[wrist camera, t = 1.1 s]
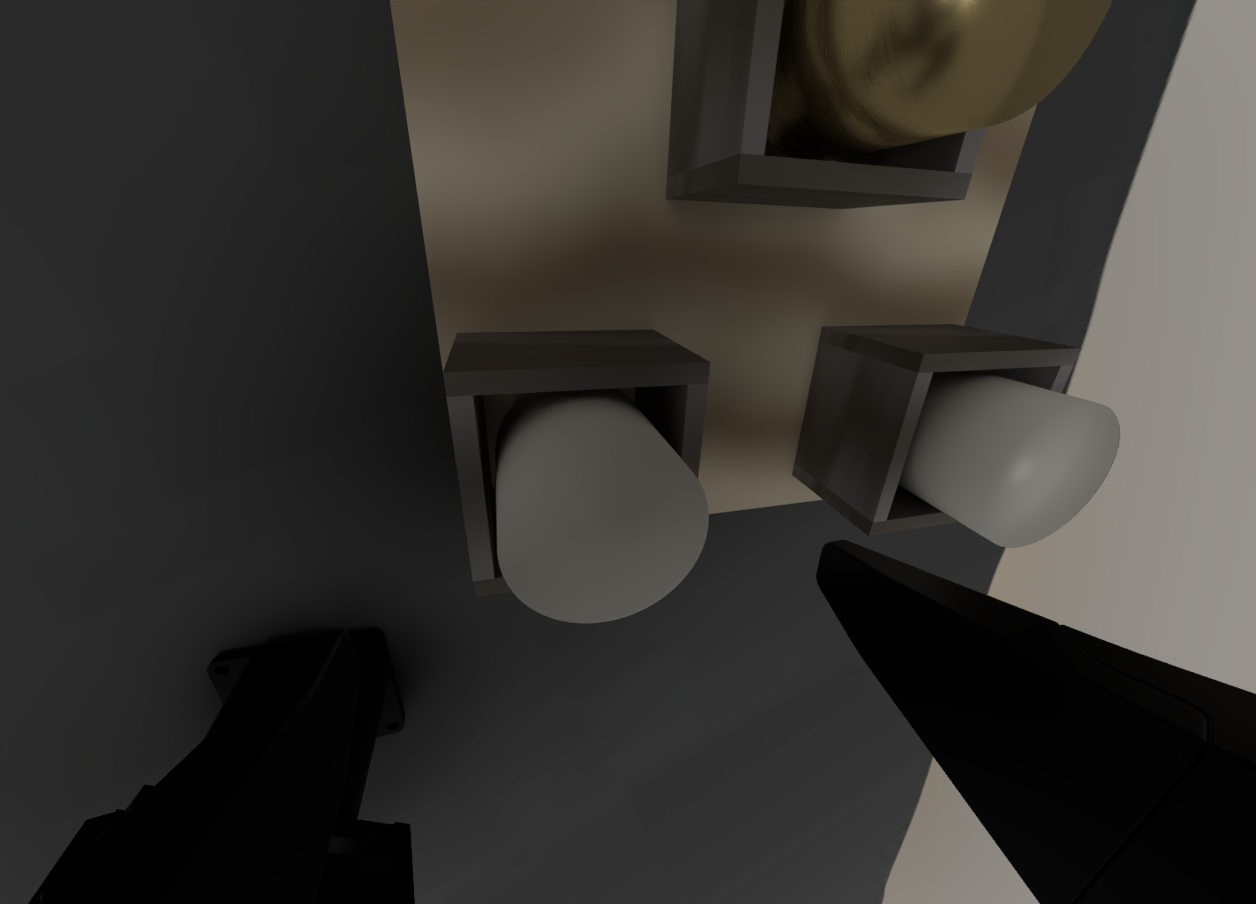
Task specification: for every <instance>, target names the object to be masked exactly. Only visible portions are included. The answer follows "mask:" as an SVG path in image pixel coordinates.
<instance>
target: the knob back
mask: <svg viewBox="0 0 1256 904" xmlns="http://www.w3.org/2000/svg"><path fill="white" fill-rule="evenodd" d="M1119 440H1120V426H1119V422H1118V419H1117V416H1116V415H1115V414H1114V412H1113V411H1112V410H1111V409H1110V408H1108V407H1106V406H1104V405H1102V404H1098V403H1095V402H1091V401H1087V400H1084V399H1080V398H1076V397H1073V396H1069V395H1066V394H1062V393H1058V392H1055V391H1051V390H1047V389H1044V388H1040V387H1037V386H1033V385H1029V384H1026V383H1022V382H1018V381H1015V380H1011V379H1007V378H1004V377H1000V376H997V375H993V374H989V373H986V372H982V371H978V370H969V371H950V372H933V375H932V378H931V381H930V384H929V388H928V391H927V394H926V397H925V400H924V403H923V407H922V410H921V413H920V416H919V419H918V422H917V426H916V429H915V432H914V435H913V438H912V441H911V445H910V448H909V451H908V454H907V457H906V460H905V464H904V467H903V470H902V473H901V476H900V479H899V483H898V485H900V486H901V487H903V488H905V489H906V490H908V491H909V492H911V493H913V494H914V495H916V496H918V497H919V498H921V499H923V500H924V501H926V502H927V503H929V504H931V505H932V506H934V507H936V508H937V509H939V510H941V511H942V512H944V513H946V514H947V515H949V516H950V517H952V518H954V519H955V520H957V521H959V522H960V523H962V524H964V525H965V526H967V527H968V528H970V529H972V530H973V531H975V532H977V533H978V534H980V535H982V536H983V537H985V538H987V539H988V540H990V541H991V542H993V543H995V544H997V545H999V546H1002V547H1008V548H1009V547H1010V548H1014V547H1022V546H1025V545H1029V544H1032V543H1034V542H1037V541H1039V540H1041V539H1043V538H1045V537H1047V536H1049V535H1050V534H1052V533H1054V532H1055V531H1057V530H1058V529H1059V528H1061V527H1062V526H1063V525H1065V524H1066V523H1067V522H1068V521H1069V520H1071V519H1072V518H1073V517H1074V516H1075V515H1076V514H1077V513H1078V512H1079V511H1080V510H1081V509H1082V508H1083V507H1084V506H1085V505H1086V504H1087V503H1088V502H1089V500H1090V499H1091V498H1092V497H1093V495H1094V494H1095V493H1096V492H1097V490H1098V489H1099V487H1100V486H1101V484H1102V483H1103V481H1104V480H1105V478H1106V476H1107V474H1108V472H1109V470H1110V469H1111V466H1112V464H1113V462H1114V459H1115V457H1116V454H1117V450H1118V447H1119Z"/></svg>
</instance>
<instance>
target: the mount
mask: <svg viewBox="0 0 1256 904" xmlns="http://www.w3.org/2000/svg"><path fill="white" fill-rule="evenodd" d="M390 5H391V12H392V19H393V26H394V33H395V40H396V47H397V54H398V61H399V68H400V75H401V82H402V89H403V96H404V103H405V110H406V117H407V124H408V131H409V138H410V145H411V152H412V159H413V166H414V173H415V180H416V187H417V194H418V201H419V208H420V215H421V222H422V229H423V236H424V243H425V250H426V257H427V264H428V271H429V278H430V285H431V292H432V299H433V306H434V313H435V320H436V327H437V334H438V341H439V348H440V355H441V362H442V369H443V376H444V383H445V390H446V397H447V404H448V411H449V418H450V425H451V432H452V439H453V446H454V453H455V460H456V467H457V474H458V481H459V488H460V495H461V502H462V509H463V516H464V523H465V530H466V537H467V544H468V551H469V558H470V565H471V572H472V579H473V586H474V593H475V597H481V596H488V595H494V594H501V593H507V592H512V590H511V589H510V588H509V586H508V585H507V583H506V581H505V579H504V577H503V575H502V572H501V569H500V566H499V561H498V556H497V516H496V465H495V446H496V439H497V435H498V431H499V428H500V426H501V424H502V422H503V420H504V418H505V416H506V415H507V413H508V412H509V410H510V409H511V408H512V407H513V405H514V404H515V403H516V402H517V401H518V400H519V399H521V398H522V397H523V396H524V395H525V394H527V393H534V392H554V391H574V390H593V389H613V388H617V389H619V390H620V391H622V392H623V393H624V394H625V395H626V396H628V397H629V398H630V400H631V401H632V402H633V403H634V404H635V405H636V406H637V408H638V409H639V410H640V411H641V412H642V413H643V415H644V416H645V417H646V418H647V419H648V420H649V422H650V423H651V424H652V425H653V426H654V427H655V429H656V430H657V431H658V432H659V433H660V434H661V436H662V437H663V438H664V439H665V440H666V441H667V443H668V444H669V445H670V446H671V447H672V448H673V450H674V451H675V452H676V453H677V454H678V455H679V457H680V458H681V459H682V460H683V461H684V462H685V464H686V465H687V466H688V467H689V468H690V469H691V471H692V472H693V473H694V474H695V476H696V477H697V479H698V480H699V482H700V483H701V486H702V488H703V490H704V493H705V496H706V500H707V503H708V512H709V514H714V513H722V512H730V511H738V510H745V509H753V508H761V507H769V506H777V505H784V504H792V503H800V502H808V501H816V500H824V501H825V502H827V503H828V504H829V505H830V506H832V507H833V508H834V509H835V510H837V511H838V512H839V513H840V514H842V515H843V516H844V517H845V518H847V519H848V520H849V521H851V522H852V523H853V524H854V525H856V526H857V527H858V528H859V529H861V530H862V531H863V532H864V533H866V534H867V535H868V536H873V535H879V534H886V533H892V532H898V531H905V530H911V529H918V528H924V527H930V526H937V525H943V524H950V523H956V522H959V521H957V520H955V519H954V518H952V517H950V516H949V515H947V514H946V513H944V512H942V511H941V510H939V509H937V508H936V507H934V506H932V505H931V504H929V503H927V502H926V501H924V500H923V499H921V498H919V497H918V496H916V495H914V494H913V493H911V492H909V491H908V490H906V489H905V488H903V487H901V486H900V485H898V483H899V479H900V476H901V473H902V470H903V467H904V464H905V460H906V457H907V454H908V451H909V448H910V445H911V441H912V438H913V435H914V432H915V429H916V426H917V422H918V419H919V416H920V413H921V410H922V407H923V403H924V400H925V397H926V394H927V391H928V388H929V384H930V381H931V378H932V375H933V372H950V371H969V370H978V371H982V372H986V373H989V374H993V375H997V376H1000V377H1004V378H1007V379H1011V380H1015V381H1018V382H1022V383H1026V384H1029V385H1033V386H1037V387H1040V388H1044V389H1047V390H1051V391H1055V392H1058V393H1061V392H1062V390H1063V388H1064V385H1065V383H1066V381H1067V379H1068V376H1069V374H1070V372H1071V370H1072V367H1073V365H1074V363H1075V361H1076V358H1077V356H1078V354H1079V352H1080V349H1081V348H1077V347H1072V346H1067V345H1062V344H1056V343H1051V342H1046V341H1040V340H1035V339H1030V338H1025V337H1019V336H1014V335H1009V334H1004V333H998V332H993V331H988V330H982V329H977V328H972V327H967V326H964V324H965V321H966V318H967V314H968V311H969V308H970V305H971V302H972V299H973V296H974V293H975V290H976V287H977V284H978V281H979V278H980V275H981V272H982V269H983V266H984V263H985V260H986V257H987V254H988V251H989V248H990V245H991V242H992V239H993V236H994V233H995V230H996V227H997V224H998V221H999V218H1000V215H1001V212H1002V208H1003V205H1004V202H1005V199H1006V196H1007V193H1008V190H1009V187H1010V184H1011V181H1012V178H1013V175H1014V172H1015V169H1016V166H1017V163H1018V160H1019V157H1020V154H1021V151H1022V148H1023V145H1024V142H1025V139H1026V136H1027V133H1028V130H1029V127H1030V124H1031V121H1032V118H1033V115H1034V112H1035V109H1036V106H1037V104H1036V105H1035V106H1033V107H1032V108H1030V109H1029V110H1028V111H1026V112H1025V113H1023V114H1021V115H1019V116H1017V117H1015V118H1013V119H1011V120H1009V121H1006V122H1003V123H1000V124H997V125H993V126H989V127H984V128H980V129H975V130H971V131H966V132H961V133H957V134H952V135H948V136H943V137H939V138H934V139H930V140H925V141H921V142H916V143H912V144H907V145H903V146H898V147H894V148H889V149H884V150H880V151H875V152H871V153H866V154H862V155H857V156H853V157H848V158H844V159H839V160H835V161H821V160H809V159H798V158H791V157H789V156H787V155H786V154H784V153H782V152H781V151H780V150H779V149H778V148H776V147H775V146H774V145H773V144H772V143H771V142H770V140H769V139H768V138H767V130H768V123H769V115H770V107H771V100H772V92H773V84H774V77H775V69H776V61H777V54H778V46H779V39H780V31H781V23H782V16H783V8H784V0H390Z"/></svg>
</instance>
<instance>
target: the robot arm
mask: <svg viewBox="0 0 1256 904" xmlns="http://www.w3.org/2000/svg"><path fill="white" fill-rule="evenodd" d="M816 578H817V583H818V585H819V588H820V589H821V591H822V593H823V594H824V596H825V598H826V599H827V601H828V603H829V604H830V606H831V608H832V609H833V611H834V613H835V615H836V616H837V618H838V620H839V621H840V623H841V625H842V626H843V628H844V630H845V631H846V633H847V635H848V636H849V638H850V640H851V641H852V643H853V645H854V646H855V648H856V649H857V651H858V653H859V654H860V655H861V657H862V658H863V660H864V661H865V663H866V664H867V666H868V667H869V668H870V670H871V671H872V672H873V674H874V675H875V677H876V678H877V679H878V681H879V682H880V683H881V685H882V686H883V688H884V689H885V690H886V692H887V693H888V695H889V696H890V697H891V699H892V700H893V701H894V703H895V704H896V706H897V707H898V708H899V710H900V711H901V712H902V714H903V715H904V717H905V718H906V719H907V721H908V722H909V724H910V725H911V726H912V728H913V729H914V730H915V732H916V733H917V735H918V736H919V737H920V739H921V740H922V742H923V743H924V744H925V746H926V747H927V748H928V750H929V751H930V753H931V754H932V755H933V757H934V758H935V759H936V761H937V762H938V764H939V765H940V766H941V768H942V769H943V770H944V772H945V773H946V775H947V776H948V777H949V779H950V780H951V781H952V783H953V784H954V786H955V787H956V788H957V790H958V791H959V793H960V794H961V795H962V797H963V798H964V800H965V801H966V802H967V804H968V805H969V806H970V808H971V809H972V810H973V812H974V813H975V815H976V816H977V817H978V819H979V820H980V822H981V823H982V824H983V826H984V827H985V829H986V830H987V831H988V833H989V834H990V835H991V837H992V838H993V840H994V841H995V842H996V844H997V845H998V846H999V848H1000V849H1001V850H1002V852H1003V853H1004V855H1005V856H1006V857H1007V859H1008V860H1009V862H1010V863H1011V864H1012V866H1013V867H1014V868H1015V870H1016V871H1017V873H1018V874H1019V876H1020V877H1021V878H1022V880H1023V881H1024V882H1025V884H1026V885H1027V887H1028V888H1029V889H1030V891H1031V892H1032V893H1033V895H1034V896H1035V898H1036V899H1037V900H1038V902H1039V903H1040V904H1256V694H1254V693H1251V692H1248V691H1245V690H1243V689H1240V688H1237V687H1234V686H1231V685H1228V684H1225V683H1222V682H1220V681H1217V680H1214V679H1211V678H1208V677H1205V676H1202V675H1199V674H1196V673H1193V672H1191V671H1188V670H1184V669H1182V668H1179V667H1176V666H1173V665H1170V664H1168V663H1165V662H1162V661H1159V660H1156V659H1153V658H1151V657H1148V656H1145V655H1142V654H1139V653H1136V652H1134V651H1131V650H1128V649H1125V648H1123V647H1120V646H1118V645H1115V644H1112V643H1110V642H1107V641H1104V640H1102V639H1099V638H1097V637H1094V636H1091V635H1088V634H1086V633H1083V632H1081V631H1078V630H1076V629H1073V628H1071V627H1068V626H1066V625H1059V624H1058V623H1057V622H1055V621H1052V620H1050V619H1047V618H1045V617H1042V616H1040V615H1037V614H1034V613H1031V612H1029V611H1026V610H1024V609H1021V608H1019V607H1016V606H1014V605H1011V604H1009V603H1006V602H1003V601H1001V600H998V599H996V598H993V597H990V596H988V595H985V594H983V593H980V592H978V591H975V590H973V589H970V588H967V587H965V586H962V585H960V584H957V583H955V582H952V581H949V580H947V579H944V578H942V577H939V576H937V575H934V574H931V573H929V572H926V571H924V570H921V569H919V568H916V567H913V566H911V565H908V564H906V563H903V562H901V561H898V560H895V559H893V558H890V557H888V556H885V555H883V554H880V553H877V552H875V551H872V550H870V549H867V548H864V547H862V546H859V545H857V544H854V543H852V542H849V541H846V540H838V541H833V542H828V543H826V544H825V545H824V546H823V548H822V551H821V556H820V560H819V564H818V569H817V574H816ZM367 641H374V642H367ZM224 666H226V667H224ZM207 672H208V675H209V677H210V679H211V681H212V683H213V684H214V686H215V688H216V690H217V692H218V694H219V696H220V698H221V700H222V702H223V704H224V705H223V706H222V708H221V710H220V712H219V713H218V715H217V717H216V719H215V720H214V722H213V724H212V726H211V727H210V729H209V731H208V733H207V734H206V736H205V738H204V740H203V741H202V742H201V743H200V744H199V745H198V746H197V747H196V748H194V749H193V750H192V751H191V752H190V753H189V754H188V755H187V756H186V757H185V758H184V759H183V760H182V761H181V762H180V763H179V764H178V765H176V766H175V767H174V768H173V769H172V770H171V771H170V772H169V773H168V774H167V775H166V776H165V777H164V778H163V779H162V780H161V781H159V782H158V783H157V784H156V785H155V786H151V785H144V786H143V787H142V788H141V790H140V791H139V792H138V794H137V795H136V797H135V798H134V799H133V801H132V802H131V803H130V805H129V806H128V807H127V809H126V810H119V809H117V810H116V811H115V812H113V813H109V814H106V815H102V816H99V817H95V818H91V819H88V820H86V821H85V823H84V824H83V825H82V827H81V828H80V830H79V831H78V832H77V834H76V835H75V837H74V838H73V840H72V841H71V842H70V844H69V845H68V847H67V848H66V850H65V851H64V853H63V854H62V855H61V857H60V858H59V860H58V861H57V863H56V864H55V866H54V867H53V868H52V870H51V871H50V873H49V874H48V876H47V877H46V879H45V880H44V881H43V883H42V884H41V886H40V887H39V889H38V890H37V892H36V893H35V894H34V896H33V897H32V899H31V900H30V902H29V903H28V904H415V900H414V883H413V866H412V849H411V832H410V824H406V823H399V822H395V823H394V824H393V825H392V824H385V823H379V822H372V821H365V820H358V819H357V818H358V814H359V810H360V805H361V801H362V797H363V792H364V788H365V784H366V779H367V775H368V770H369V766H370V762H371V757H372V753H373V749H374V744H375V740H376V737H379V736H384V735H388V734H393V733H396V732H399V731H400V730H402V728H403V727H404V722H405V715H404V711H403V707H402V703H401V699H400V696H399V692H398V688H397V684H396V680H395V677H394V673H393V669H392V665H391V661H390V658H389V654H388V650H387V646H386V642H385V639H384V636H383V634H382V633H381V632H380V631H377V630H365V631H359V632H353V633H348V632H347V631H346V630H343V629H340V630H334V631H328V632H323V633H319V634H316V635H315V636H313V637H312V638H311V639H310V640H304V641H298V642H292V643H286V644H280V645H274V646H267V647H261V648H255V649H249V650H243V651H237V652H231V653H225V654H221V655H218V656H216V657H215V658H214V659H213V660H212V662H211V663H210V665H209V666H208V668H207Z"/></svg>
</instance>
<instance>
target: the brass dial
mask: <svg viewBox="0 0 1256 904" xmlns="http://www.w3.org/2000/svg"><path fill="white" fill-rule="evenodd" d="M1111 3H1112V0H784V8H783V16H782V23H781V31H780V39H779V46H778V54H777V61H776V69H775V77H774V84H773V92H772V100H771V107H770V115H769V123H768V130H767V138H768V139H769V140H770V142H771V143H772V144H773V145H774V146H775V147H776V148H778V149H779V150H780V151H781V152H782V153H784V154H786V155H787V156H789V157H791V158H798V159H809V160H821V161H835V160H839V159H844V158H848V157H853V156H857V155H862V154H866V153H871V152H875V151H880V150H884V149H889V148H894V147H898V146H903V145H907V144H912V143H916V142H921V141H925V140H930V139H934V138H939V137H943V136H948V135H952V134H957V133H961V132H966V131H971V130H975V129H980V128H984V127H989V126H993V125H997V124H1000V123H1003V122H1006V121H1009V120H1011V119H1013V118H1015V117H1017V116H1019V115H1021V114H1023V113H1025V112H1026V111H1028V110H1029V109H1030V108H1032V107H1033V106H1035V105H1036V104H1037V103H1039V102H1040V101H1041V100H1042V99H1043V98H1045V97H1046V96H1047V95H1048V94H1049V93H1050V92H1051V91H1052V90H1053V89H1054V88H1055V87H1056V86H1057V85H1058V84H1059V83H1060V82H1061V81H1062V80H1063V79H1064V78H1065V77H1066V76H1067V74H1068V73H1069V72H1070V70H1071V69H1072V68H1073V67H1074V65H1075V64H1076V63H1077V61H1078V60H1079V59H1080V57H1081V56H1082V54H1083V53H1084V51H1085V50H1086V48H1087V47H1088V45H1089V44H1090V42H1091V41H1092V39H1093V37H1094V35H1095V34H1096V32H1097V30H1098V28H1099V27H1100V25H1101V23H1102V21H1103V19H1104V17H1105V15H1106V13H1107V11H1108V9H1109V7H1110V5H1111Z"/></svg>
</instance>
